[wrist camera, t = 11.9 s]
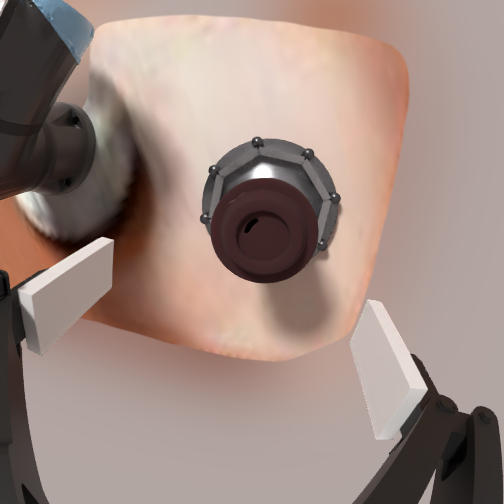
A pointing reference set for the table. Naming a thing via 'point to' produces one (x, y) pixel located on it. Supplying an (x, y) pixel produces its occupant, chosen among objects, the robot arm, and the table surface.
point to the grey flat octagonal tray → (280, 167)
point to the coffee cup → (264, 230)
